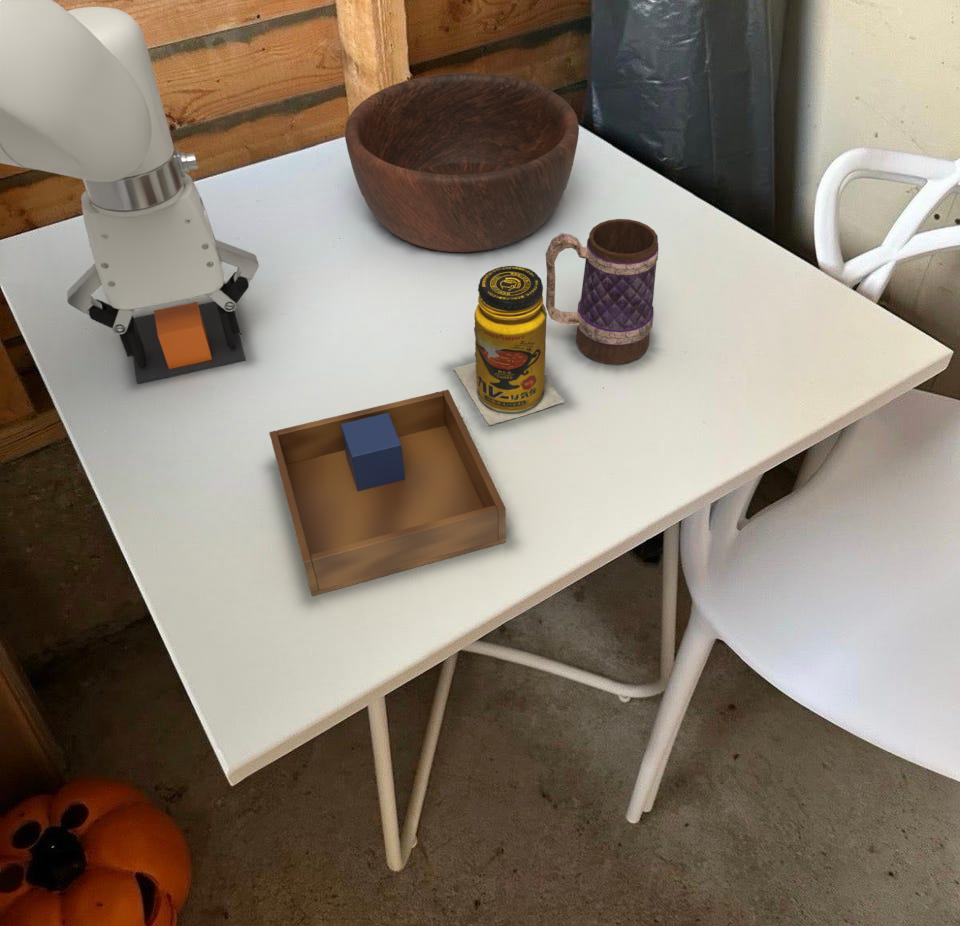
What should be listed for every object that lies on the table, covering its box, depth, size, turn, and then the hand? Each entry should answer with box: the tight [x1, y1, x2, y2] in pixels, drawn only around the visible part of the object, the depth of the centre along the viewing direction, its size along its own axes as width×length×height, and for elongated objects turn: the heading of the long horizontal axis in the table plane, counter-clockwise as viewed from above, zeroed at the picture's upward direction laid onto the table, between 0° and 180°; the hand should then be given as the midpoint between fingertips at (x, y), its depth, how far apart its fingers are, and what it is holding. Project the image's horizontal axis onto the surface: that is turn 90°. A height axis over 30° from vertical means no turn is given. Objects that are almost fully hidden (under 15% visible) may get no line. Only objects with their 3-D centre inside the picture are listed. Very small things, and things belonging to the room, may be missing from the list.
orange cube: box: [153, 301, 212, 369], centre depth 86 cm, size 4×4×4 cm
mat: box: [132, 301, 246, 385], centre depth 90 cm, size 10×10×1 cm
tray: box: [269, 389, 507, 597], centre depth 73 cm, size 15×14×4 cm
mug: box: [545, 218, 659, 365], centre depth 84 cm, size 10×7×12 cm
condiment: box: [453, 265, 565, 426], centre depth 80 cm, size 7×8×12 cm
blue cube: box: [341, 413, 405, 491], centre depth 75 cm, size 4×4×4 cm
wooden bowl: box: [344, 72, 580, 253], centre depth 102 cm, size 25×25×10 cm
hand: (186, 347), depth 87 cm, fingers open, 7 cm apart
